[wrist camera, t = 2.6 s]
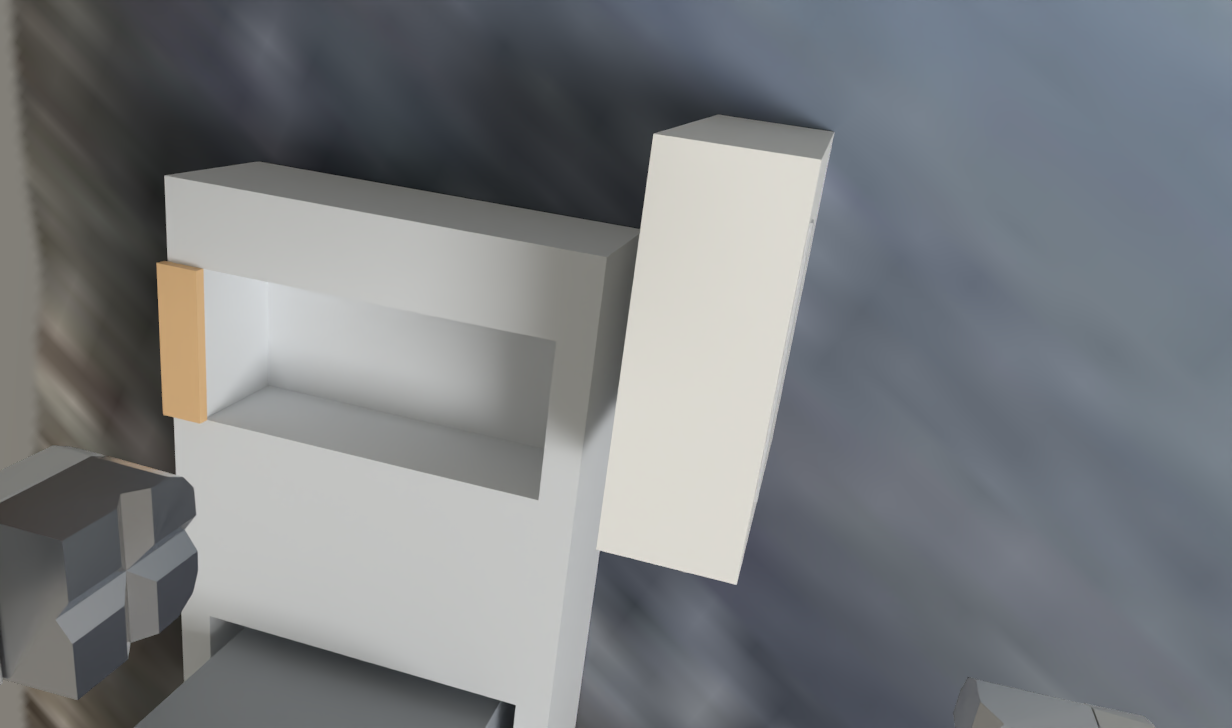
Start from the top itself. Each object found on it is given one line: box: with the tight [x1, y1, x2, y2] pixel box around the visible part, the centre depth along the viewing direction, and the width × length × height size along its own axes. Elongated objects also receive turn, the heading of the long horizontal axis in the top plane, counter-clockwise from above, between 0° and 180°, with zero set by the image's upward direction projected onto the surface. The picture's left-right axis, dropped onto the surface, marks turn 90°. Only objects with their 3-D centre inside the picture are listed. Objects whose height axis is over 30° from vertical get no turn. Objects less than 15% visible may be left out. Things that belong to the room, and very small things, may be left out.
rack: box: [134, 161, 640, 728], centre depth 26 cm, size 12×20×8 cm, turn 173°
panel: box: [596, 115, 834, 585], centre depth 21 cm, size 9×3×8 cm, turn 173°
